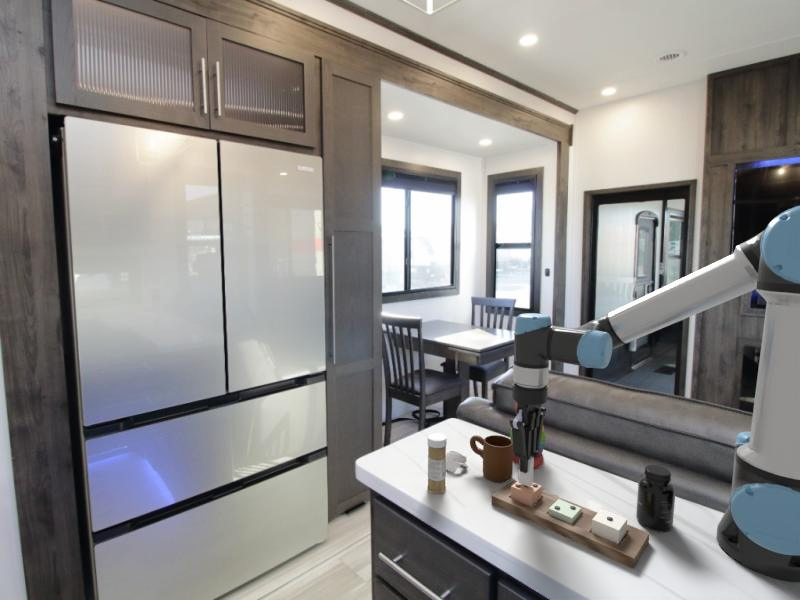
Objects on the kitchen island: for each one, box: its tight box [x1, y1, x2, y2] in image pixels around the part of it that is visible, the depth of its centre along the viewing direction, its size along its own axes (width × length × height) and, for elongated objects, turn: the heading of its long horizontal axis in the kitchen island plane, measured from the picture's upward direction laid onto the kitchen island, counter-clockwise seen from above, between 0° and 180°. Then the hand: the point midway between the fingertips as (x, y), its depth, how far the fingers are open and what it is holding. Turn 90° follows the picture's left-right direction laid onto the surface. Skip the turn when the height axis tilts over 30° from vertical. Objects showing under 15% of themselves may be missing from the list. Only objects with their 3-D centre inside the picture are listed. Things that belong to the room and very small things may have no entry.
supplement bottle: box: [635, 464, 676, 533], centre depth 93 cm, size 7×7×12 cm
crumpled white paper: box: [446, 449, 469, 473], centre depth 118 cm, size 8×7×5 cm
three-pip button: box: [511, 480, 543, 507], centre depth 99 cm, size 5×5×3 cm
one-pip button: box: [592, 508, 628, 545], centre depth 87 cm, size 5×5×3 cm
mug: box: [469, 434, 514, 483], centre depth 114 cm, size 12×8×9 cm, turn 51°
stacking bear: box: [509, 401, 546, 471], centre depth 121 cm, size 11×10×18 cm
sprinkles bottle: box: [427, 433, 448, 495], centre depth 106 cm, size 5×5×14 cm
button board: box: [491, 478, 650, 569], centre depth 93 cm, size 30×10×2 cm, turn 46°
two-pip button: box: [549, 499, 581, 525], centre depth 93 cm, size 5×5×3 cm
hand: (525, 483), depth 99 cm, fingers closed
